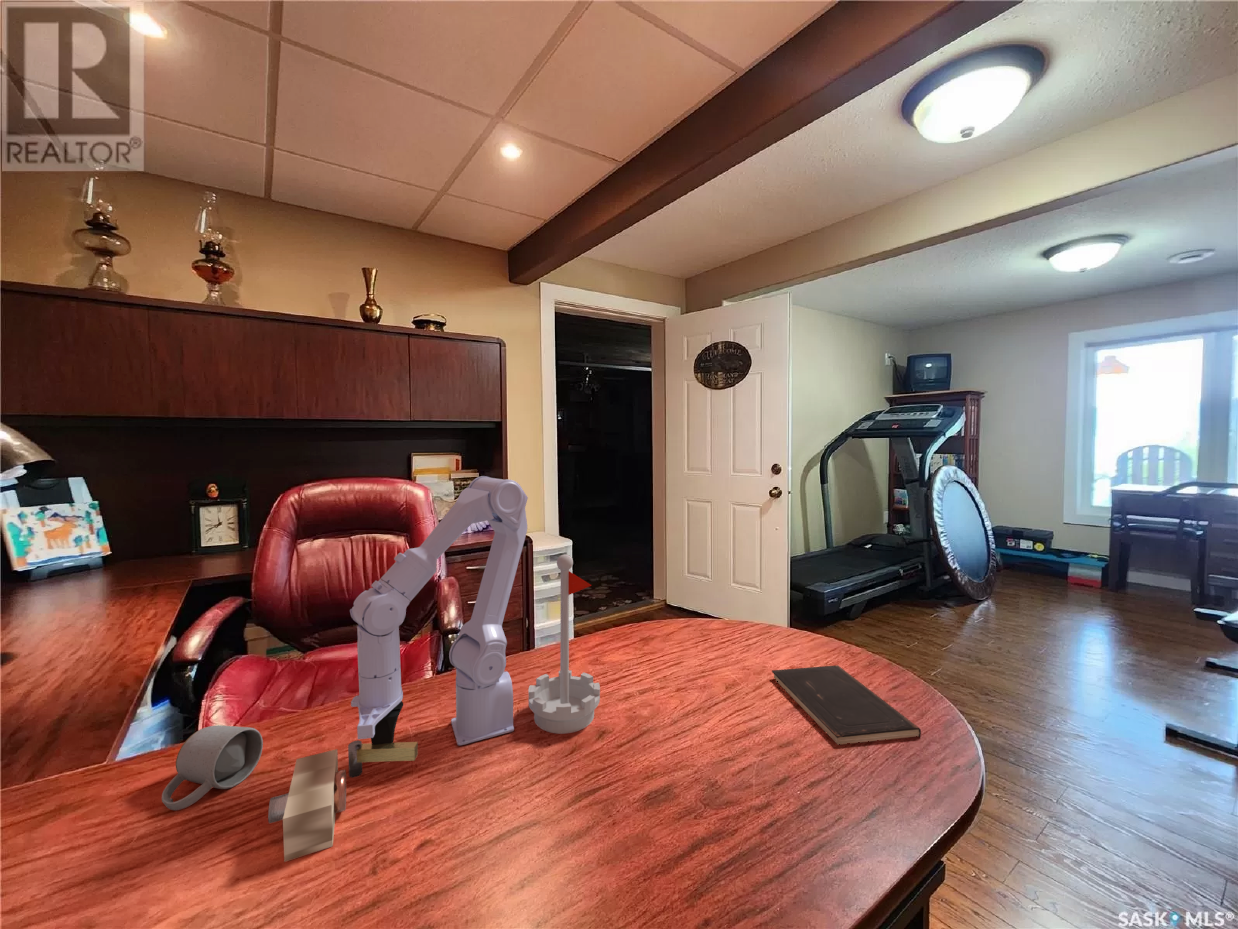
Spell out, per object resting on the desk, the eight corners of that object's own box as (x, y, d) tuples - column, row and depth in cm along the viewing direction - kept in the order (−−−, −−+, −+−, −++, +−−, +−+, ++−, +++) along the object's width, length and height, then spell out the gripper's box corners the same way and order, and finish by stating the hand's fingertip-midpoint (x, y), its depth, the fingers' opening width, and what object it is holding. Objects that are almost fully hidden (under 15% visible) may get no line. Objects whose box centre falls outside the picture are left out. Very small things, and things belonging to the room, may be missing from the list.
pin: (346, 794, 68) (345, 762, 68) (344, 818, 64) (343, 784, 64) (274, 815, 65) (273, 781, 64) (267, 842, 60) (266, 805, 60)
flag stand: (515, 729, 85) (514, 560, 83) (547, 692, 97) (547, 544, 96) (584, 743, 81) (585, 567, 79) (609, 703, 94) (610, 549, 92)
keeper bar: (418, 767, 75) (418, 738, 75) (414, 775, 73) (413, 746, 73) (352, 769, 74) (351, 740, 74) (346, 778, 72) (345, 748, 72)
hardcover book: (836, 749, 81) (836, 736, 81) (771, 680, 104) (771, 670, 104) (921, 740, 84) (921, 727, 84) (839, 675, 106) (840, 665, 106)
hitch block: (338, 784, 71) (337, 749, 71) (332, 846, 60) (331, 804, 60) (297, 795, 69) (296, 759, 69) (284, 862, 58) (282, 819, 58)
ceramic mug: (222, 757, 77) (220, 711, 76) (265, 765, 75) (263, 718, 74) (145, 809, 66) (141, 755, 66) (192, 819, 65) (189, 764, 64)
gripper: (367, 649, 80) (370, 728, 81) (331, 697, 65) (335, 792, 67) (412, 646, 81) (415, 723, 82) (387, 692, 67) (390, 786, 68)
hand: (382, 754), depth 74 cm, fingers closed, pressing on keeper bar
